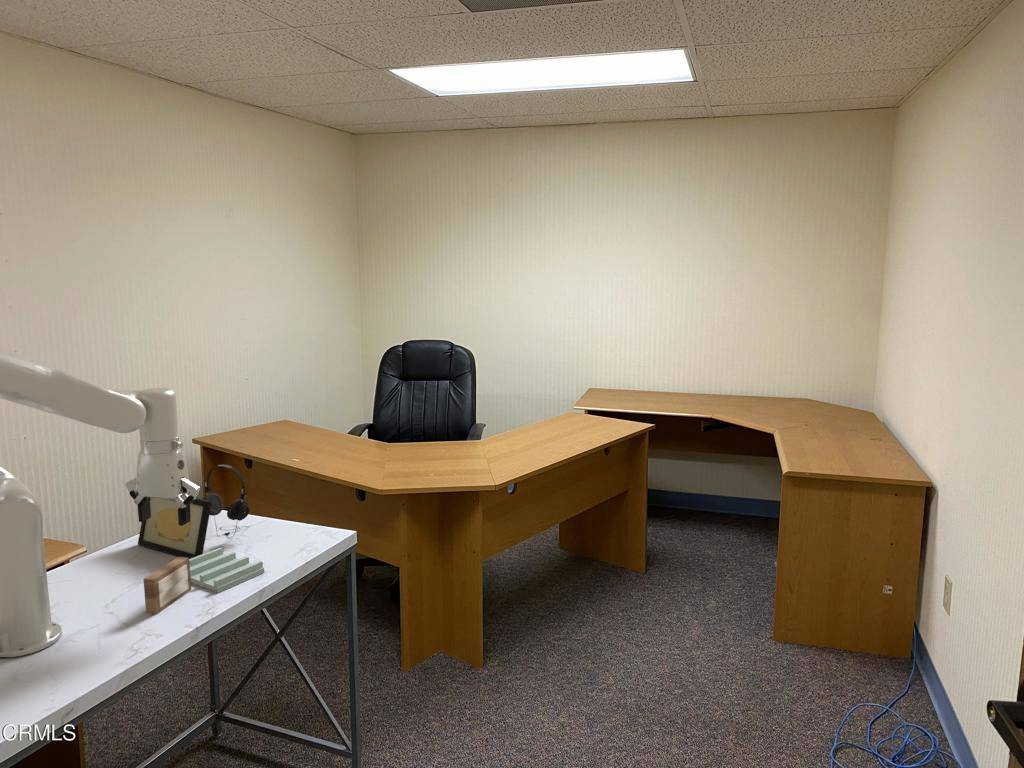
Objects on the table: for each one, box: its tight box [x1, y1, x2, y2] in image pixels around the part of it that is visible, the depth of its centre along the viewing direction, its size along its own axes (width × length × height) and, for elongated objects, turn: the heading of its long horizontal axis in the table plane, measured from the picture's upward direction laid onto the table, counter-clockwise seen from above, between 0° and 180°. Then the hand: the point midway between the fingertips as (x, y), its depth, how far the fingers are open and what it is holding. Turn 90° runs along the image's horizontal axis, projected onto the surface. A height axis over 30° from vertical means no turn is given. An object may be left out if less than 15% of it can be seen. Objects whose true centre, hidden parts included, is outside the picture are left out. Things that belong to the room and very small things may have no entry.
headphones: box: [202, 464, 251, 538], centre depth 202 cm, size 15×11×20 cm
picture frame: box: [137, 497, 212, 559], centre depth 193 cm, size 23×9×15 cm, turn 62°
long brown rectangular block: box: [142, 556, 192, 615], centre depth 163 cm, size 12×3×8 cm, turn 168°
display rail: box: [189, 547, 265, 594], centre depth 178 cm, size 13×17×3 cm
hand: (164, 521), depth 161 cm, fingers open, 9 cm apart
